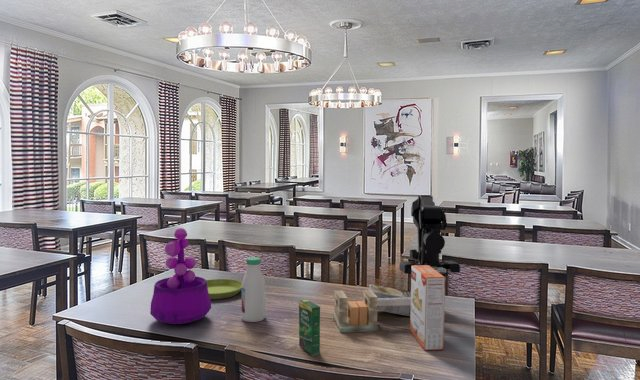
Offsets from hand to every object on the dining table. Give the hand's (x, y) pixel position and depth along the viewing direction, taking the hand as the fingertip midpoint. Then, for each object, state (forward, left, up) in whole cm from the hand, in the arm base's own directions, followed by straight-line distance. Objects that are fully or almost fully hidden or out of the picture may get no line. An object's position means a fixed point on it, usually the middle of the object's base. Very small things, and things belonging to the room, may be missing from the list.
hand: (428, 292), depth 147 cm
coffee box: (+17, -10, -4) cm, 20 cm away
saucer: (+70, -39, -10) cm, 81 cm away
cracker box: (+7, +15, -10) cm, 19 cm away
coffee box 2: (+41, +17, -10) cm, 46 cm away
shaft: (+9, 0, -6) cm, 11 cm away
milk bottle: (+56, -9, -10) cm, 58 cm away
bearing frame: (+24, 0, -10) cm, 26 cm away
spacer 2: (+22, 0, -6) cm, 23 cm away
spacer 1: (+25, 0, -6) cm, 26 cm away
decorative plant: (+79, -10, -10) cm, 81 cm away
